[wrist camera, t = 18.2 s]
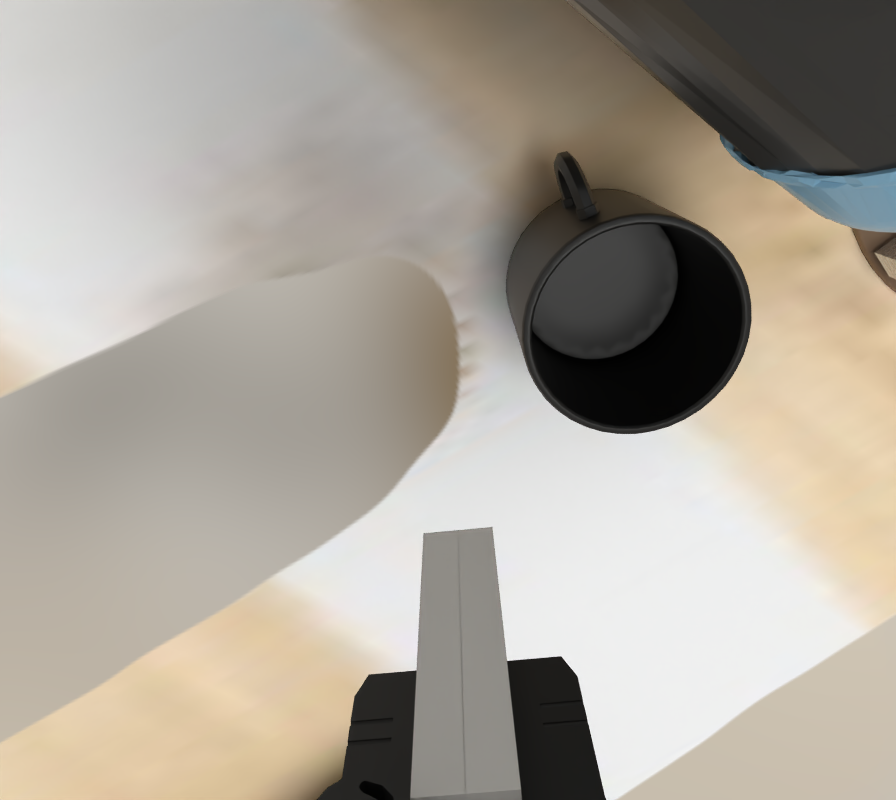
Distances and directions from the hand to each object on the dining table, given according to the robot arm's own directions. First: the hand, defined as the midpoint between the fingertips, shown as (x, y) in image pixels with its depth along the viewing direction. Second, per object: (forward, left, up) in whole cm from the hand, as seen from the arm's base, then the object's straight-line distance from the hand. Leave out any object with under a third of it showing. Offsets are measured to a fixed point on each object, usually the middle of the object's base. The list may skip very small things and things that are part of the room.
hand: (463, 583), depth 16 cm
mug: (-2, +7, -25) cm, 26 cm away
